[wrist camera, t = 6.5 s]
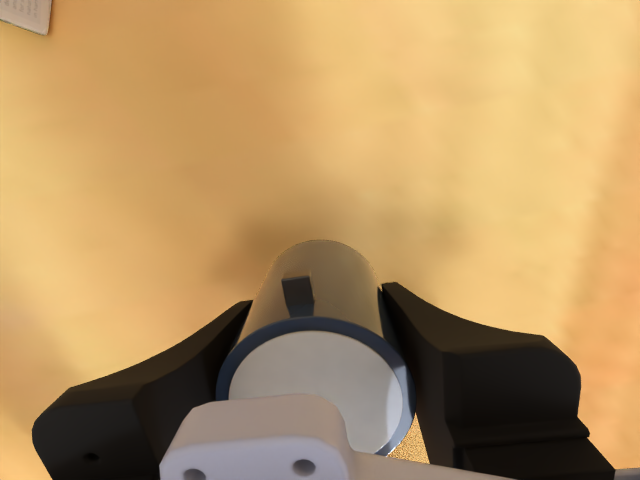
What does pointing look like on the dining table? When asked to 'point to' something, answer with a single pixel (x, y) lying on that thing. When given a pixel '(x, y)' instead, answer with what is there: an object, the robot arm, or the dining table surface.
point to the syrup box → (27, 14)
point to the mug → (325, 344)
